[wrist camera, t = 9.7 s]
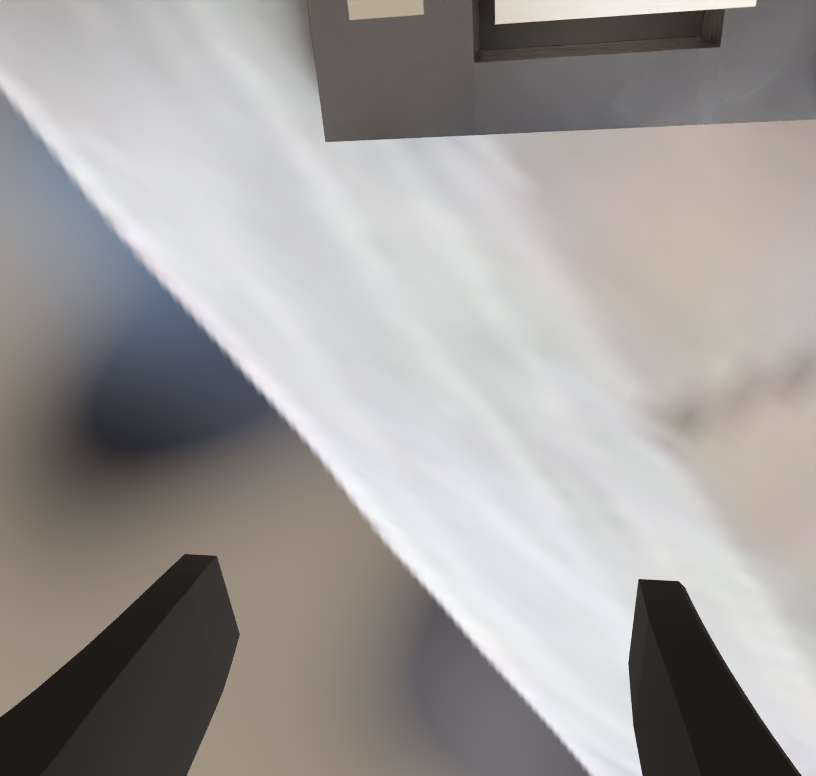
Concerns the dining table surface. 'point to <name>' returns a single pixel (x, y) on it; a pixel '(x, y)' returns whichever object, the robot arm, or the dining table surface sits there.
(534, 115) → the port panel
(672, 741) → the robot arm
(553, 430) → the dining table surface
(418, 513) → the dining table surface
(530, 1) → the plug
